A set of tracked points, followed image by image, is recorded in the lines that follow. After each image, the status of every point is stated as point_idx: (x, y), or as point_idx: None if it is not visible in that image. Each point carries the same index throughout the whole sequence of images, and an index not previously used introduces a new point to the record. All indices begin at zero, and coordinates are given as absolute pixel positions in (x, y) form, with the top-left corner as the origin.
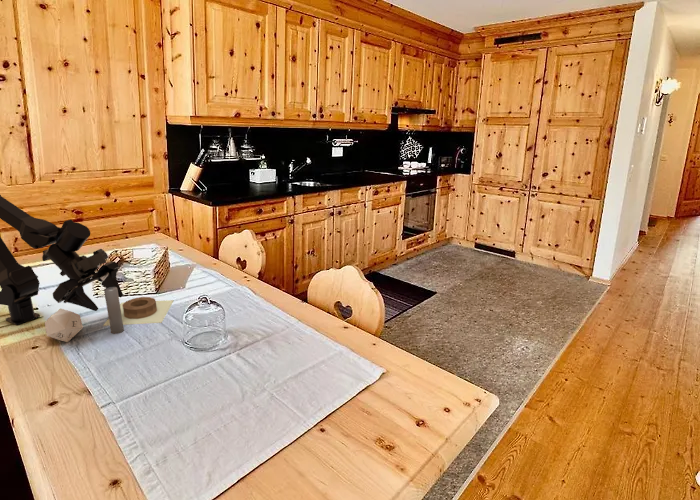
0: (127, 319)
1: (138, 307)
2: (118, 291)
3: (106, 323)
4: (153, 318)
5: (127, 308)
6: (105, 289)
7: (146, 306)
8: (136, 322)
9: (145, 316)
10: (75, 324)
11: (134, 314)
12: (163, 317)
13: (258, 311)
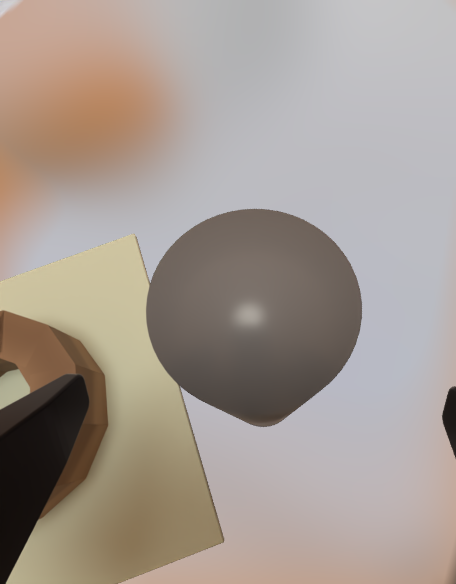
0: (119, 432)
1: (44, 373)
2: (48, 415)
3: (189, 539)
4: (95, 295)
5: None
6: (291, 380)
7: (27, 332)
8: (148, 353)
9: (81, 343)
10: None
11: (93, 389)
12: (80, 256)
13: (8, 4)
